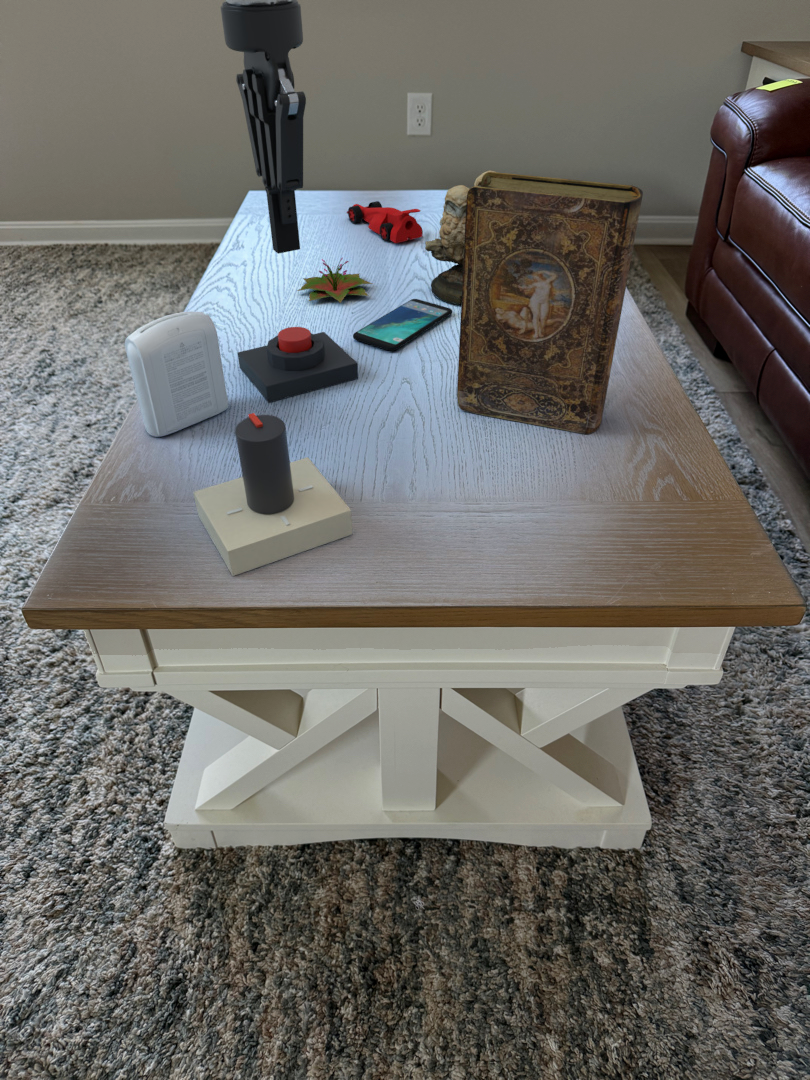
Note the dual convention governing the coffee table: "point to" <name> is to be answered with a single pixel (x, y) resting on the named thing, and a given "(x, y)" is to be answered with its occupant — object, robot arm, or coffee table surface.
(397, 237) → the toy car
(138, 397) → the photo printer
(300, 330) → the power button
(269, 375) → the power box
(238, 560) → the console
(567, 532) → the coffee table surface
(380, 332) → the smartphone
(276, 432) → the dial
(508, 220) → the book
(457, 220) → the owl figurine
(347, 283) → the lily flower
